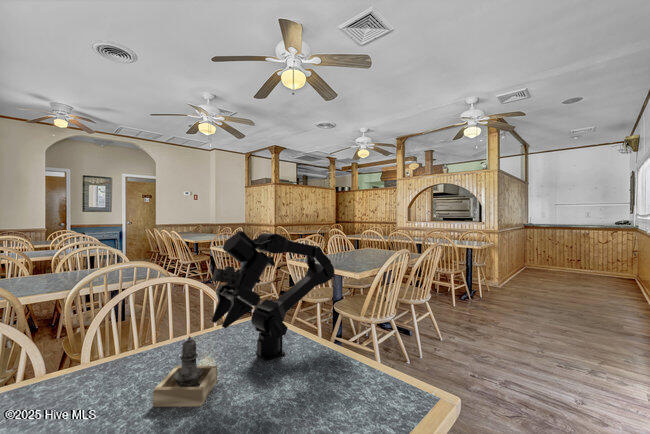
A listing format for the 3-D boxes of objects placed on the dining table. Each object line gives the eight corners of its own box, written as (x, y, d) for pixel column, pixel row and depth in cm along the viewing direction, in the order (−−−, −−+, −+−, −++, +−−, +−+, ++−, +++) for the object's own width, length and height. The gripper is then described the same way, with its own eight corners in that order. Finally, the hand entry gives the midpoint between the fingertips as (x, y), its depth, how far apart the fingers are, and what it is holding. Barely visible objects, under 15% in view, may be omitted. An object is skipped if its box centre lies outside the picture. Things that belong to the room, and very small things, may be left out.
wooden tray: (175, 380, 71) (175, 366, 71) (217, 380, 71) (217, 365, 71) (152, 406, 61) (153, 389, 61) (201, 406, 61) (201, 389, 61)
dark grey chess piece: (200, 395, 64) (201, 340, 64) (170, 398, 62) (172, 342, 63) (204, 380, 70) (205, 330, 70) (177, 384, 68) (178, 332, 68)
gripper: (217, 256, 85) (183, 305, 78) (239, 253, 70) (199, 313, 63) (247, 277, 89) (217, 325, 82) (274, 277, 74) (240, 336, 67)
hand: (218, 324), depth 74 cm, fingers open, 9 cm apart
